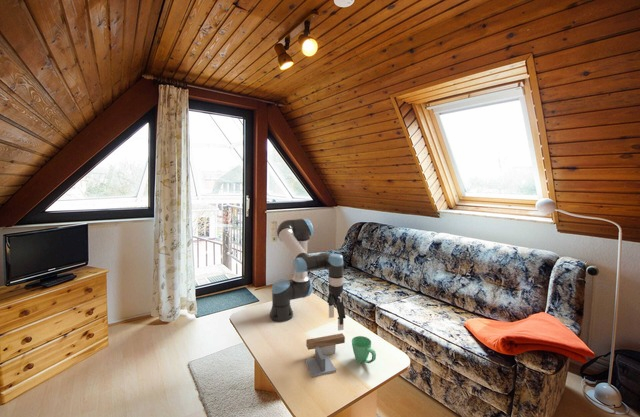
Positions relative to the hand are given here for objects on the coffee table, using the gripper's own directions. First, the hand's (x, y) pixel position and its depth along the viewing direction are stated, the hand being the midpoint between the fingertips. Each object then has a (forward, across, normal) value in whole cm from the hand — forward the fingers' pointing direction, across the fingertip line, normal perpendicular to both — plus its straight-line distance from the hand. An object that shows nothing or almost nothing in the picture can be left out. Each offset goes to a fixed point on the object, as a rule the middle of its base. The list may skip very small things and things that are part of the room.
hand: (335, 323), depth 151 cm
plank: (+11, 0, -6) cm, 12 cm away
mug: (+16, +13, +10) cm, 23 cm away
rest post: (+16, 0, -6) cm, 17 cm away
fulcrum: (+16, +9, -12) cm, 22 cm away
